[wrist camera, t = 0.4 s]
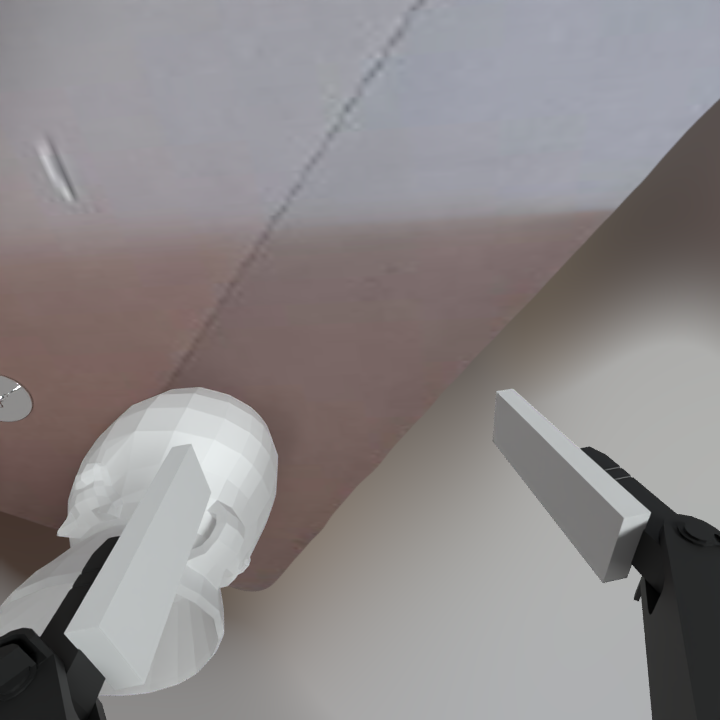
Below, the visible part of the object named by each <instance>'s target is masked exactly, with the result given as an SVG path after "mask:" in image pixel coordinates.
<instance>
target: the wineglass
mask: <svg viewBox="0 0 720 720" xmlns="http://www.w3.org/2000/svg"><path fill="white" fill-rule="evenodd" d="M32 408H33V400H32V397H31V395H30V393H29V392H28V390H27V389H26V388H25V387H24V386H23V385H22V384H20V383H19V382H17V381H16V380H14V379H12V378H9V377H7V376H4V375H0V421H6V422H11V421H18V420H21V419H23V418H25V417H26V416H27V415H29V413H30V412H31V410H32Z"/></svg>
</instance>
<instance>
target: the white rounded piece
mask: <svg viewBox="0 0 720 720" xmlns="http://www.w3.org/2000/svg"><path fill="white" fill-rule="evenodd" d="M186 444H192V447H193V449H194V452H195V454H196V456H197V459H198V461H199V464H200V466H201V469H202V471H203V473H204V476H205V478H206V481H207V483H208V486H209V488H210V490H211V495H210V498H209V501H208V504H207V506H206V509H205V512H204V515H203V518H202V521H201V524H200V527H199V529H198V532H197V535H196V538H195V541H194V544H193V547H192V549H191V552H190V555H189V558H188V561H187V564H186V567H185V569H184V572H183V575H182V578H181V581H180V584H179V587H178V589H177V592H176V595H175V598H174V601H173V604H172V607H171V610H170V612H169V615H168V618H167V621H166V624H165V627H164V630H163V632H162V635H161V638H160V641H159V644H158V647H157V650H156V652H155V655H154V658H153V661H152V664H151V667H150V670H149V672H148V675H147V678H146V681H145V684H142V685H138V686H133V687H129V688H124V689H120V690H115V691H114V689H113V688H112V687H111V686H110V685H109V684H108V683H107V682H106V680H105V681H104V684H103V686H102V688H101V690H100V693H99V695H98V696H126V695H136V694H145V693H151V692H154V691H158V690H161V689H165V688H168V687H171V686H174V685H178V684H179V683H181V682H183V681H185V680H187V679H188V678H190V677H192V676H194V675H195V674H197V673H198V672H199V671H200V670H201V669H202V667H203V666H204V665H205V664H206V663H207V662H208V661H209V660H210V659H211V658H212V656H213V655H214V654H215V653H216V651H217V649H218V646H219V644H220V642H221V640H222V637H223V635H224V609H223V602H222V595H221V589H220V588H221V587H225V586H228V585H229V584H230V583H231V582H232V581H233V580H234V579H235V578H236V577H237V575H238V574H240V573H242V572H243V571H244V570H245V569H246V568H247V567H248V566H249V564H250V561H251V559H250V556H251V554H252V552H253V550H254V548H255V546H256V544H257V542H258V539H259V537H260V535H261V533H262V531H263V529H264V527H265V525H266V522H267V520H268V517H269V515H270V511H271V508H272V505H273V502H274V499H275V496H276V485H277V468H278V454H277V452H276V449H275V446H274V443H273V440H272V438H271V435H270V432H269V429H268V426H267V425H266V423H265V422H264V421H263V419H262V418H261V416H260V415H259V414H258V413H257V412H256V411H255V410H254V409H252V408H251V407H250V406H249V405H247V404H245V403H243V402H241V401H239V400H238V399H236V398H234V397H232V396H230V395H228V394H225V393H221V392H217V391H213V390H209V389H205V388H201V387H194V388H182V389H171V390H169V391H166V392H164V393H161V394H159V395H156V396H154V397H151V398H149V399H147V400H144V401H142V402H139V403H137V404H134V405H132V406H131V407H130V408H128V409H127V410H126V411H125V412H124V413H123V414H122V415H121V416H120V417H119V418H118V419H117V420H115V421H114V422H113V423H112V424H111V425H110V426H109V427H108V428H107V429H106V430H105V431H104V432H103V433H102V434H101V435H100V436H99V437H98V439H97V440H96V442H95V443H94V444H93V446H92V447H91V449H90V450H89V452H88V453H87V455H86V456H85V457H84V459H83V461H82V463H81V466H80V468H79V471H78V473H77V475H76V477H75V481H74V483H73V486H72V490H71V493H70V496H69V499H68V516H67V519H66V520H65V522H64V523H63V524H62V526H61V527H60V528H59V530H58V531H57V536H62V537H69V540H70V547H71V548H70V549H68V550H67V551H66V552H64V553H63V554H61V555H60V556H59V557H57V558H56V559H54V560H53V561H51V562H50V563H48V564H47V565H45V566H44V567H42V568H41V569H39V570H38V571H36V572H35V573H34V574H33V575H32V576H30V577H29V578H28V579H27V580H26V581H25V582H24V583H22V584H21V585H20V586H19V587H18V588H17V589H16V590H14V591H13V592H12V593H11V594H10V595H9V597H8V598H7V599H6V600H5V601H4V602H3V604H2V605H1V606H0V637H1V636H3V635H5V634H6V633H8V632H10V631H13V630H16V629H20V628H31V629H33V630H34V631H35V633H36V634H37V635H38V636H39V637H40V636H41V635H42V633H43V632H44V630H45V628H46V627H47V625H48V624H49V622H50V620H51V619H52V617H53V616H54V614H55V613H56V611H57V609H58V608H59V606H60V605H61V603H62V601H63V600H64V598H65V597H66V595H67V593H68V592H69V590H70V589H72V588H73V584H74V582H75V581H76V579H77V578H78V576H79V575H81V573H82V570H83V568H84V567H85V565H86V563H87V562H88V560H89V559H90V557H91V555H92V554H93V553H94V552H95V551H96V550H97V549H98V548H99V547H100V546H101V545H102V544H103V543H104V542H105V541H106V540H107V539H108V538H111V537H116V536H121V534H122V532H123V531H124V529H125V527H126V525H127V524H128V522H129V520H130V519H131V517H132V515H133V513H134V512H135V510H136V508H137V506H138V505H139V503H140V501H141V500H142V498H143V496H144V494H145V493H146V491H147V489H148V488H149V486H150V484H151V482H152V481H153V479H154V477H155V475H156V474H157V472H158V470H159V469H160V467H161V465H162V463H163V462H164V460H165V458H166V457H167V455H168V453H169V451H170V450H171V448H172V447H174V446H180V445H186Z"/></svg>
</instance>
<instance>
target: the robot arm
mask: <svg viewBox="0 0 720 720" xmlns="http://www.w3.org/2000/svg"><path fill="white" fill-rule="evenodd" d="M493 442H494V444H495V445H496V446H497V447H498V449H499V450H500V451H501V453H502V454H503V455H504V456H505V458H506V459H507V460H508V462H509V463H510V464H511V465H512V467H513V468H514V469H515V470H516V472H517V473H518V474H519V476H520V477H521V478H522V480H523V481H524V482H525V483H526V485H527V486H528V487H529V488H530V490H531V491H532V492H533V494H534V495H535V496H536V498H537V499H538V500H539V501H540V503H541V504H542V505H543V507H544V508H545V509H546V510H547V512H548V513H549V514H550V516H551V517H552V518H553V519H554V521H555V522H556V523H557V524H558V526H559V527H560V528H561V530H562V531H563V532H564V533H565V535H566V536H567V537H568V539H569V540H570V541H571V543H572V544H573V545H574V546H575V548H576V549H577V550H578V552H579V553H580V554H581V555H582V557H583V558H584V559H585V560H586V562H587V563H588V564H589V566H590V567H591V568H592V570H593V571H594V572H595V573H596V575H597V576H598V577H599V578H600V580H601V581H602V582H603V583H605V582H609V581H614V580H619V579H623V578H627V576H628V574H629V571H630V568H631V565H633V566H634V567H635V568H636V569H637V570H638V572H639V573H640V574H641V575H642V577H641V580H640V582H639V585H638V587H637V590H636V593H635V596H634V600H637V601H639V599H640V597H641V598H642V608H643V609H642V610H643V620H644V632H645V643H646V654H647V664H648V676H649V687H650V699H651V710H652V720H720V531H719V530H717V529H716V528H715V527H713V526H711V525H710V524H708V523H706V522H704V521H702V520H700V519H697V518H694V517H692V516H687V515H681V514H676V513H675V512H674V511H673V510H671V509H670V508H669V507H668V506H667V505H665V504H664V503H663V502H662V501H660V500H659V499H658V498H657V497H656V496H654V495H653V494H652V493H651V492H650V491H649V490H647V489H646V488H645V487H644V486H643V485H641V484H640V483H639V482H638V481H637V480H635V479H634V478H631V476H630V475H629V474H628V473H627V472H626V471H625V470H624V469H622V468H620V466H619V465H618V464H616V463H615V462H614V461H613V460H612V459H610V458H609V457H608V456H607V455H605V454H603V453H601V452H599V451H597V450H595V449H593V448H591V447H585V448H579V447H578V446H576V445H575V444H574V443H573V442H572V441H571V440H570V439H568V438H567V437H566V436H565V435H564V434H563V433H562V432H561V431H560V430H558V429H557V428H556V427H555V426H554V425H553V424H552V423H551V422H549V420H547V419H546V418H545V417H544V416H543V415H542V414H541V413H539V412H538V411H537V410H536V409H535V408H534V407H533V406H532V405H531V404H530V403H528V402H527V401H526V400H525V399H524V398H523V397H522V396H521V395H519V394H518V393H517V392H516V391H515V390H514V389H508V390H502V391H497V392H496V404H495V417H494V431H493ZM210 495H211V490H210V488H209V486H208V483H207V481H206V478H205V476H204V473H203V471H202V469H201V466H200V464H199V461H198V459H197V456H196V454H195V452H194V449H193V447H192V444H186V445H180V446H174V447H172V448H171V450H170V451H169V453H168V455H167V457H166V458H165V460H164V462H163V463H162V465H161V467H160V469H159V470H158V472H157V474H156V475H155V477H154V479H153V481H152V482H151V484H150V486H149V488H148V489H147V491H146V493H145V494H144V496H143V498H142V500H141V501H140V503H139V505H138V506H137V508H136V510H135V512H134V513H133V515H132V517H131V519H130V520H129V522H128V524H127V525H126V527H125V529H124V531H123V532H122V534H121V536H116V537H111V538H108V539H107V540H106V541H105V542H104V543H103V544H102V545H101V546H100V547H99V548H98V549H97V550H96V551H95V552H94V553H93V554H92V555H91V557H90V559H89V560H88V562H87V563H86V565H85V567H84V568H83V570H82V573H81V575H79V576H78V578H77V579H76V581H75V582H74V584H73V588H72V589H70V590H69V592H68V593H67V595H66V597H65V598H64V600H63V601H62V603H61V605H60V606H59V608H58V609H57V611H56V613H55V614H54V616H53V617H52V619H51V620H50V622H49V624H48V625H47V627H46V628H45V630H44V632H43V633H42V635H41V636H40V637H39V636H38V635H37V634H36V633H35V631H34V630H33V629H31V628H20V629H16V630H13V631H10V632H8V633H6V634H5V635H3V636H1V637H0V720H106V716H105V713H104V709H103V706H102V703H101V702H100V701H99V699H98V698H97V697H98V695H99V693H100V690H101V688H102V686H103V684H104V681H105V680H106V682H107V683H108V684H109V685H110V686H111V687H112V688H113V689H114V691H115V690H120V689H124V688H129V687H133V686H138V685H142V684H145V681H146V678H147V675H148V672H149V670H150V667H151V664H152V661H153V658H154V655H155V652H156V650H157V647H158V644H159V641H160V638H161V635H162V632H163V630H164V627H165V624H166V621H167V618H168V615H169V612H170V610H171V607H172V604H173V601H174V598H175V595H176V592H177V589H178V587H179V584H180V581H181V578H182V575H183V572H184V569H185V567H186V564H187V561H188V558H189V555H190V552H191V549H192V547H193V544H194V541H195V538H196V535H197V532H198V529H199V527H200V524H201V521H202V518H203V515H204V512H205V509H206V506H207V504H208V501H209V498H210Z"/></svg>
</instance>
